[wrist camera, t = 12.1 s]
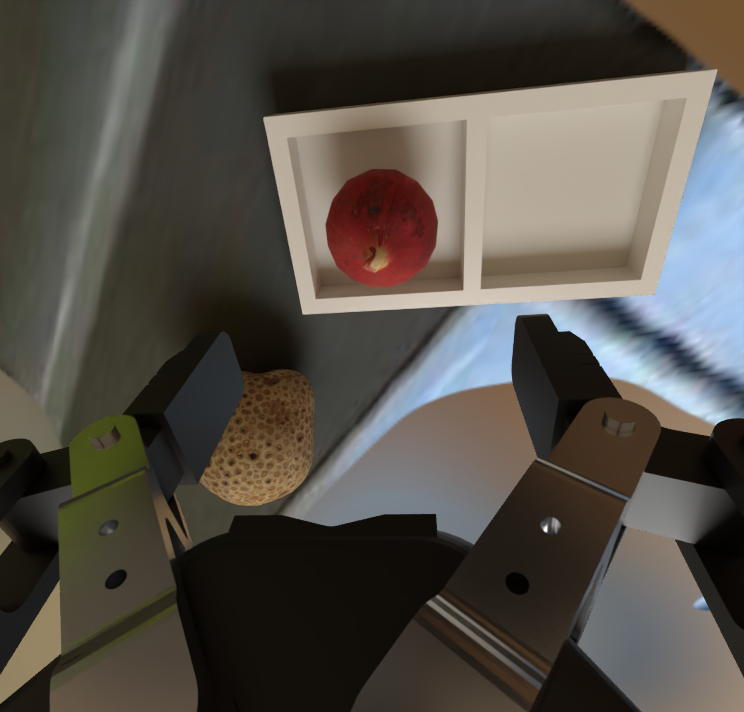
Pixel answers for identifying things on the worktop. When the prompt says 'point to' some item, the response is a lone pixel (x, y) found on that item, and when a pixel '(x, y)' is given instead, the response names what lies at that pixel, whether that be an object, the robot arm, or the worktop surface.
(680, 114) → the well holder
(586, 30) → the worktop surface
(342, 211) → the onion
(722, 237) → the worktop surface
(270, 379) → the natural sponge
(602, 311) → the worktop surface
